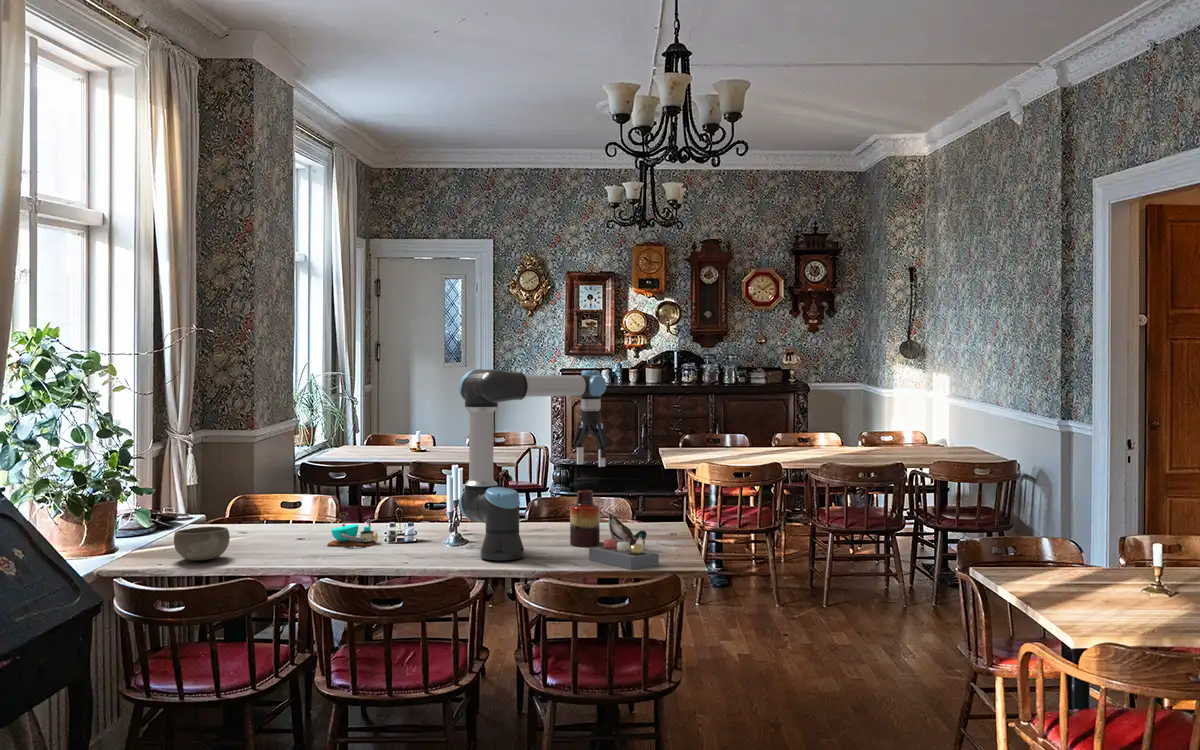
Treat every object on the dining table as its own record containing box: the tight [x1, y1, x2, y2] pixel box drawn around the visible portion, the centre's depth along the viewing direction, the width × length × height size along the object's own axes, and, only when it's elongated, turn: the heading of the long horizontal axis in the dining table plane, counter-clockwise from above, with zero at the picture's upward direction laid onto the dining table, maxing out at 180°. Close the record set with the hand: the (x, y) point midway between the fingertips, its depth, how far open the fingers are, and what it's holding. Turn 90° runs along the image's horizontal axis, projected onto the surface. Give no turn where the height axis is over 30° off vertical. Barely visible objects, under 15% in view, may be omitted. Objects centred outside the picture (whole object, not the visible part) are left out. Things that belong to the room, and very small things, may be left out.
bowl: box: [173, 526, 231, 561], centre depth 350 cm, size 17×18×10 cm
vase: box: [569, 489, 601, 548], centre depth 375 cm, size 11×11×20 cm
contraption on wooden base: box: [325, 511, 379, 548], centre depth 376 cm, size 14×18×15 cm
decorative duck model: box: [608, 513, 648, 548], centre depth 367 cm, size 15×8×15 cm, turn 59°
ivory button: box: [616, 542, 630, 553], centre depth 342 cm, size 4×4×4 cm
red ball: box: [603, 538, 617, 550], centre depth 348 cm, size 4×4×4 cm
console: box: [588, 544, 660, 571], centre depth 342 cm, size 12×22×4 cm, turn 39°
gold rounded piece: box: [631, 543, 644, 556], centre depth 337 cm, size 4×4×4 cm
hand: (590, 465), depth 394 cm, fingers open, 13 cm apart
